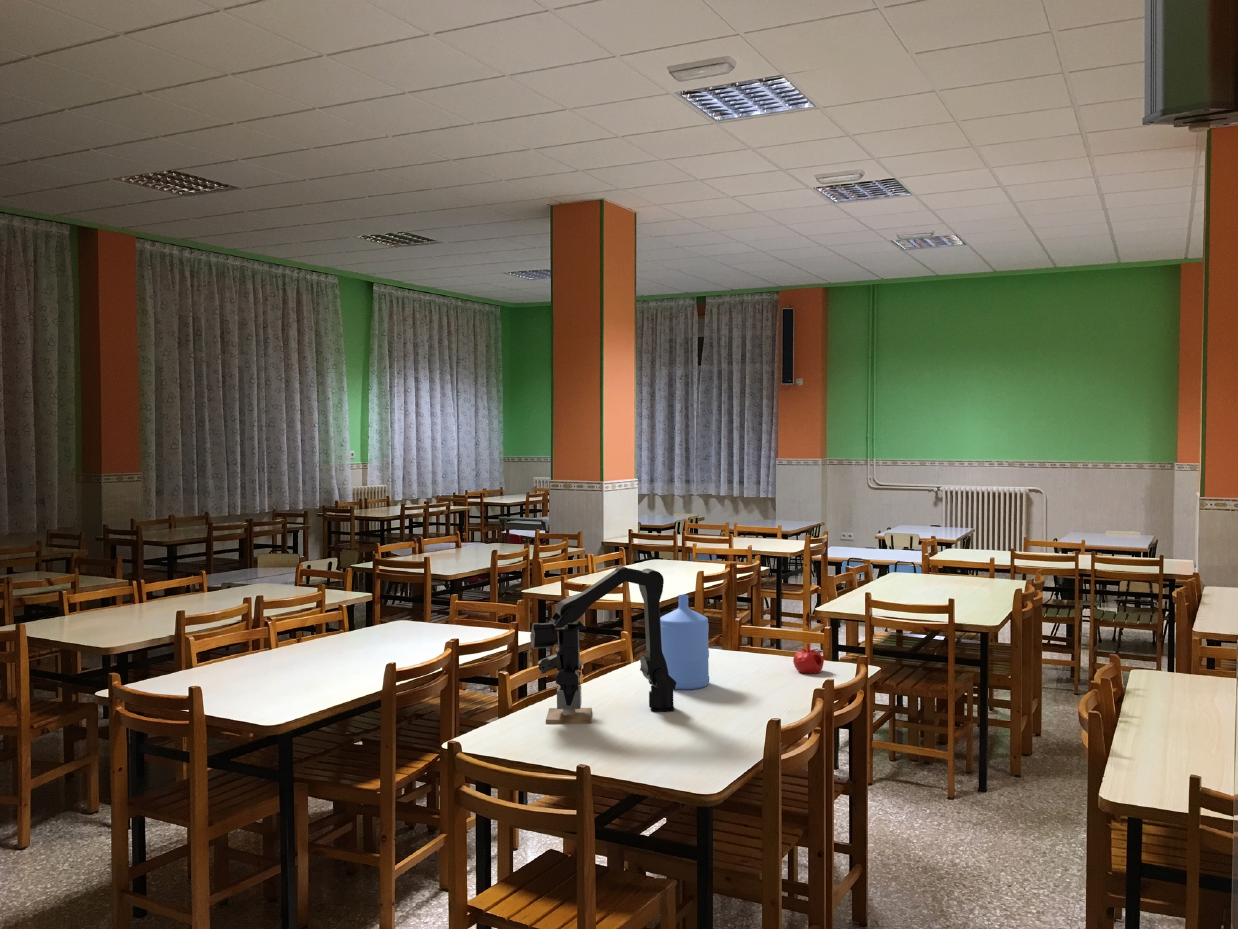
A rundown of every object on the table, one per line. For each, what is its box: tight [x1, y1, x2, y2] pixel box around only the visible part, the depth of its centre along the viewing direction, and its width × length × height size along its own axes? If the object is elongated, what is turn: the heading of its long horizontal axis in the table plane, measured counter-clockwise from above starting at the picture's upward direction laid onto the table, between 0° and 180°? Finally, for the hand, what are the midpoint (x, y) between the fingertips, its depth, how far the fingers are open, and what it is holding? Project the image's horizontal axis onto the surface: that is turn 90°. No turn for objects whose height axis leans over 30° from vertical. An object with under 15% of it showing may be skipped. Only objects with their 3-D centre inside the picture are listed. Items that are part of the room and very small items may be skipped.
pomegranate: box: [792, 643, 825, 674], centre depth 321 cm, size 10×10×9 cm
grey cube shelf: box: [556, 684, 582, 709], centre depth 269 cm, size 6×6×5 cm
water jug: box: [660, 594, 710, 691], centre depth 305 cm, size 16×16×28 cm
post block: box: [545, 707, 593, 724], centre depth 269 cm, size 12×12×5 cm
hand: (569, 702), depth 269 cm, fingers closed on grey cube shelf, 6 cm apart
